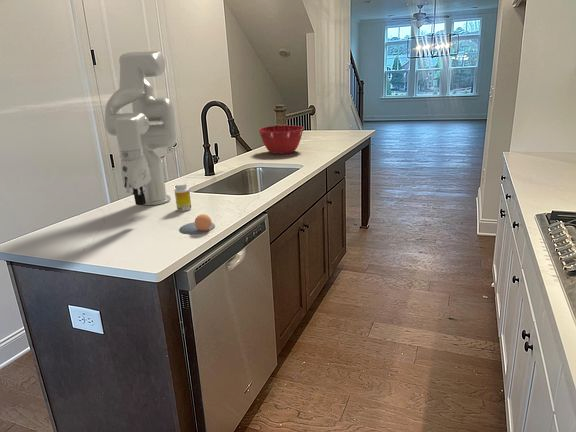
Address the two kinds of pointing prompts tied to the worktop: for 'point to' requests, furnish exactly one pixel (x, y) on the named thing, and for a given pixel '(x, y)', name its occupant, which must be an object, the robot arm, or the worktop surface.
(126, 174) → the robot arm
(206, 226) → the ball
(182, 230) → the disc
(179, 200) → the supplement bottle
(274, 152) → the mixing bowl
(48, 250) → the worktop surface
